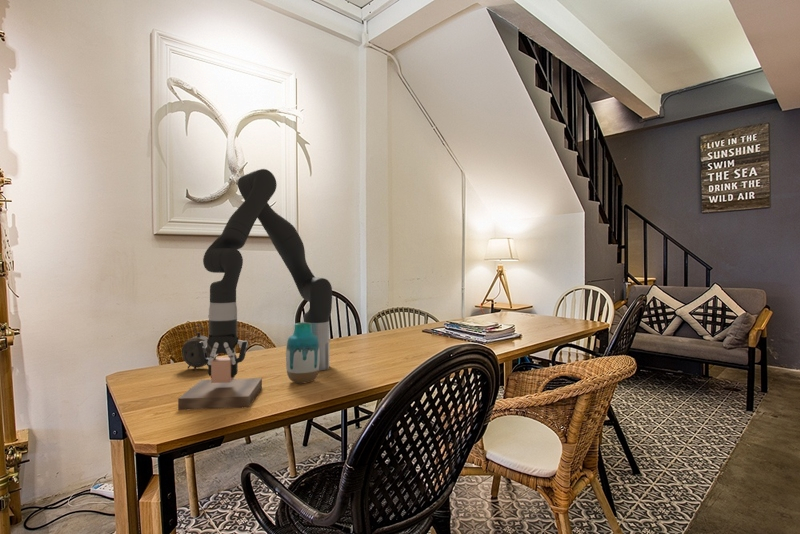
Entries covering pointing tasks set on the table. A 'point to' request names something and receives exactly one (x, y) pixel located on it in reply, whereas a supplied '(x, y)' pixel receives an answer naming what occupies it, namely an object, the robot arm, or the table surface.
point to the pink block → (221, 370)
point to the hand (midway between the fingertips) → (223, 376)
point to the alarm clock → (194, 351)
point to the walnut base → (220, 394)
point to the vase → (302, 354)
